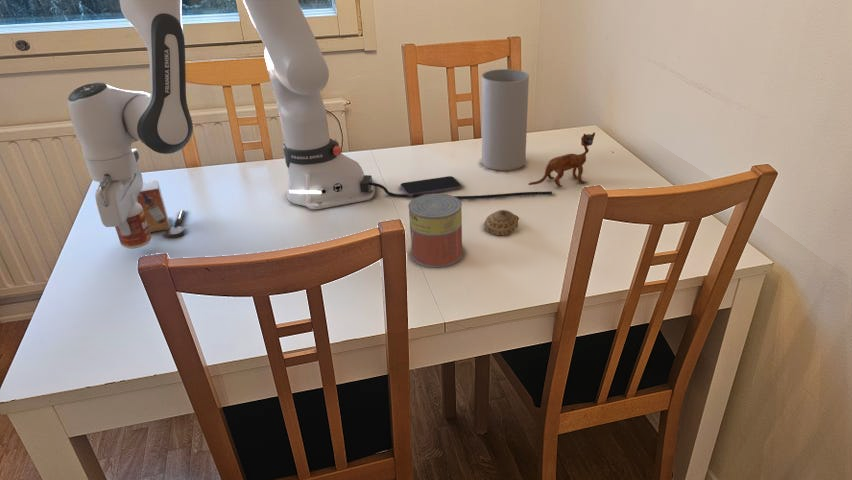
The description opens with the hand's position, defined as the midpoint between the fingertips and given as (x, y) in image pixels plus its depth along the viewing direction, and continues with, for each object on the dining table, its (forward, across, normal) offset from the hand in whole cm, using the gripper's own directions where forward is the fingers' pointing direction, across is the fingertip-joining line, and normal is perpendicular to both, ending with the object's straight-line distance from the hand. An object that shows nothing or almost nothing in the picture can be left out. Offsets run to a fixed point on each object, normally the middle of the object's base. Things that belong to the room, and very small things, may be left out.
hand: (131, 225), depth 139 cm
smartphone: (+7, +19, -68) cm, 71 cm away
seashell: (+7, -6, -81) cm, 82 cm away
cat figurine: (+7, +14, -102) cm, 103 cm away
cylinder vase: (+7, +31, -91) cm, 97 cm away
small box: (+7, +12, 0) cm, 14 cm away
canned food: (+7, -15, -64) cm, 66 cm away
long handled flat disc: (+7, +12, -6) cm, 15 cm away
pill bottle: (+4, 0, 0) cm, 4 cm away
